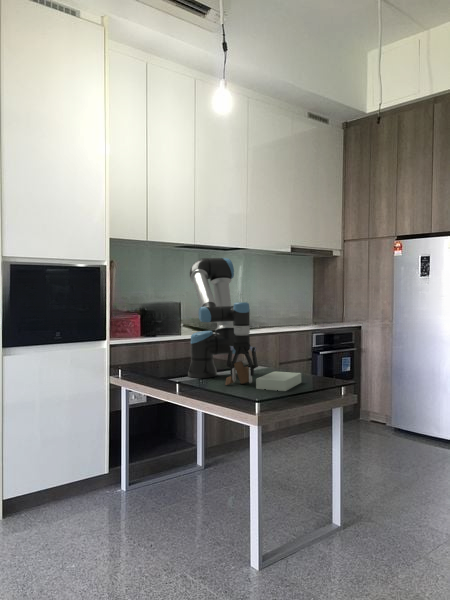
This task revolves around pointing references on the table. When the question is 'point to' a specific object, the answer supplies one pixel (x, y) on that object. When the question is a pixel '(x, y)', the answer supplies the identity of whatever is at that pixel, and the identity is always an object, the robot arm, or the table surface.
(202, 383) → the table surface
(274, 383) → the sage base block
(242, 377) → the wooden block set
